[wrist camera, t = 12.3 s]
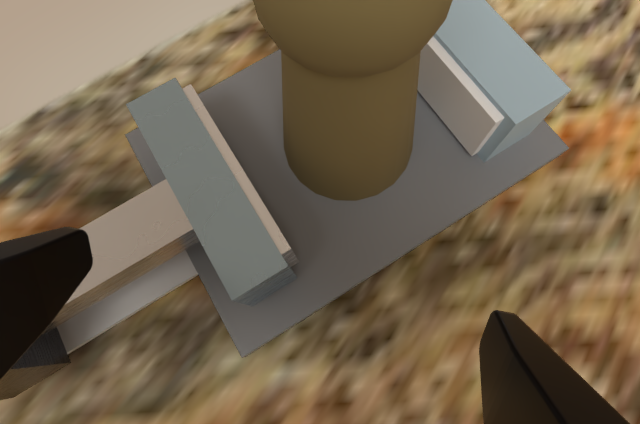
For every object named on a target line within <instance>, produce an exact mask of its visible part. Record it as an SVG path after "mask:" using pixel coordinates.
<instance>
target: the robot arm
mask: <svg viewBox="0 0 640 424" xmlns="http://www.w3.org/2000/svg"><path fill="white" fill-rule="evenodd" d="M92 265H93V257H92V252H91V247H90V242H89V237H88V234H87V233H86V231H84V230H82V229H77V228H72V227H63V228H59V229H55V230H51V231H47V232H42V233H38V234H34V235H30V236H26V237H22V238H18V239H13V240H9V241H5V242H1V243H0V380H1V379H2V378H3V377H4V375H5V374H6V373H7V372H8V371H9V370H10V369H11V368H12V366H13V365H14V364H15V363H16V362H17V361H18V360H19V359H20V358H21V356H22V355H23V354H24V353H25V352H26V351H27V350H28V349H29V347H30V346H31V345H32V344H33V343H34V342H35V341H36V340H37V339H38V337H39V336H40V335H41V334H42V333H43V332H44V331H45V329H46V328H47V327H48V326H49V325H50V324H51V322H52V321H53V320H54V318H55V317H56V316H57V315H58V313H59V312H60V311H61V309H62V308H63V307H64V305H65V304H66V302H67V301H68V300H69V298H70V297H71V296H72V294H73V293H74V292H75V290H76V289H77V288H78V286H79V285H80V284H81V282H82V281H83V280H84V278H85V277H86V276H87V274H88V273H89V271H90V270H91V268H92ZM479 355H480V372H481V390H482V407H483V421H484V424H630V423H629V422H628V421H627V420H626V419H625V418H624V417H623V416H621V415H620V414H619V413H618V412H617V411H616V410H615V409H614V408H613V407H612V406H611V405H610V404H609V403H608V402H607V401H606V400H605V399H604V398H603V397H602V396H601V395H600V394H599V393H597V392H596V391H595V390H594V389H593V388H592V387H591V386H590V385H589V384H588V383H587V382H586V381H585V380H584V379H583V378H582V377H581V376H580V375H579V374H578V373H577V372H576V371H574V370H573V369H572V368H571V367H570V366H569V365H568V364H567V363H566V362H565V361H564V360H563V359H562V358H561V357H560V356H559V355H558V354H557V353H556V352H555V351H554V350H553V349H551V348H550V347H549V346H548V345H547V344H546V343H545V342H544V341H543V340H542V339H541V338H540V337H539V336H538V335H537V334H536V333H535V332H534V331H533V330H532V329H531V328H530V327H528V326H527V325H526V324H525V323H524V322H523V321H522V320H521V319H520V318H519V317H518V316H517V315H516V314H513V313H509V312H503V311H498V310H495V311H493V312H492V313H491V314H490V317H489V319H488V322H487V325H486V327H485V330H484V333H483V335H482V338H481V341H480V348H479Z"/></svg>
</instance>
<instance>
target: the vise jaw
mask: <svg viewBox="0 0 640 424" xmlns="http://www.w3.org/2000/svg"><path fill="white" fill-rule="evenodd" d="M126 105H127V107H128V109H129V111H130V113H131V114H132V116H133V118H134V120H135V122H136V124H137V126H138V127H139V129H140V131H141V133H142V135H143V137H144V139H145V140H146V142H147V144H148V146H149V148H150V150H151V152H152V153H153V155H154V157H155V159H156V161H157V163H158V165H159V166H160V168H161V170H162V172H163V174H164V176H165V178H166V179H165V180H163V181H162V182H160V183H158V184H156V185H155V186H153V187H151V188H149V189H148V190H146V191H144V192H142V193H141V194H139V195H137V196H135V197H134V198H132V199H130V200H128V201H127V202H125V203H123V204H121V205H120V206H118V207H116V208H114V209H113V210H111V211H109V212H107V213H106V214H104V215H102V216H100V217H99V218H97V219H95V220H93V221H92V222H90V223H88V224H86V225H85V226H83V227H81V228H79V229H82V230H84V231H86V233H87V234H88V237H89V242H90V247H91V252H92V257H93V265H92V268H91V270H90V271H89V273H88V274H87V276H86V277H85V278H84V280H83V281H82V282H81V284H80V285H79V286H78V288H77V289H76V290H75V292H74V293H73V294H72V296H71V297H70V298H69V300H68V301H67V302H66V304H65V305H64V307H63V308H62V309H61V311H60V312H59V313H58V315H57V316H56V317H55V318H54V320H53V321H52V322H51V324H50V325H49V326H48V327H47V328H46V329H45V331H44V332H43V333H42V334H41V335H40V336H39V337H38V339H37V340H36V341H35V342H34V343H33V344H32V345H31V346H30V347H29V349H28V350H27V351H26V352H25V353H24V354H23V355H22V356H21V358H20V359H19V360H18V361H17V362H16V363H15V364H14V365H13V366H12V368H11V369H10V370H9V371H8V372H7V373H6V374H5V375H4V377H3V378H2V379H1V380H0V400H3V399H8V398H13V397H15V396H17V395H18V394H20V393H22V392H23V391H25V390H27V389H28V388H30V387H32V386H33V385H35V384H36V383H38V382H40V381H41V380H43V379H45V378H46V377H48V376H50V375H51V374H53V373H54V372H56V371H58V370H59V369H61V368H63V367H64V366H66V365H68V364H69V363H71V362H70V359H69V356H68V354H67V351H66V349H65V346H64V344H63V341H62V339H61V336H60V334H59V331H58V329H57V326H59V325H61V324H62V323H64V322H66V321H67V320H69V319H71V318H72V317H74V316H76V315H77V314H79V313H81V312H82V311H84V310H86V309H87V308H89V307H91V306H92V305H94V304H96V303H97V302H99V301H101V300H102V299H104V298H106V297H107V296H109V295H111V294H112V293H114V292H116V291H117V290H119V289H121V288H123V287H124V286H126V285H128V284H129V283H131V282H133V281H134V280H136V279H138V278H139V277H141V276H143V275H144V274H146V273H148V272H149V271H151V270H153V269H154V268H156V267H158V266H159V265H161V264H163V263H164V262H166V261H168V260H169V259H171V258H173V257H174V256H176V255H178V254H179V253H181V252H183V251H185V250H186V249H188V248H190V247H191V246H193V245H195V244H196V243H198V242H201V244H202V246H203V248H204V250H205V252H206V254H207V255H208V257H209V259H210V261H211V263H212V265H213V267H214V268H215V270H216V272H217V274H218V276H219V278H220V280H221V281H222V283H223V285H224V287H225V289H226V291H227V292H228V294H229V296H230V298H231V300H232V301H235V302H238V303H242V304H245V305H249V306H254V305H255V304H257V303H259V302H260V301H262V300H263V299H265V298H267V297H268V296H270V295H271V294H273V293H275V292H276V291H278V290H279V289H281V288H283V287H284V286H286V285H287V284H289V283H291V282H292V281H294V280H295V279H297V278H298V277H297V276H296V274H295V272H294V271H293V269H292V267H293V266H294V265H296V264H297V263H299V260H298V259H297V257H296V255H295V254H294V252H293V251H292V249H291V247H290V246H289V244H288V242H287V241H286V239H285V237H284V236H283V234H282V233H281V231H280V229H279V228H278V226H277V224H276V223H275V221H274V219H273V218H272V216H271V214H270V213H269V211H268V210H267V208H266V206H265V205H264V203H263V201H262V200H261V198H260V196H259V195H258V193H257V192H256V190H255V188H254V187H253V185H252V183H251V182H250V180H249V178H248V177H247V175H246V173H245V172H244V170H243V169H242V167H241V165H240V164H239V162H238V160H237V159H236V157H235V155H234V154H233V152H232V151H231V149H230V147H229V146H228V144H227V142H226V141H225V139H224V137H223V136H222V134H221V132H220V131H219V129H218V128H217V126H216V124H215V123H214V121H213V119H212V118H211V116H210V114H209V113H208V111H207V110H206V108H205V106H204V105H203V103H202V101H201V100H200V98H199V96H198V95H197V93H196V92H195V90H194V88H193V87H192V85H191V84H190V85H188V86H186V87H184V88H182V87H181V86H180V84H179V83H178V81H177V80H176V78H174V79H172V80H170V81H168V82H166V83H164V84H163V85H161V86H159V87H157V88H155V89H153V90H151V91H150V92H148V93H146V94H144V95H142V96H140V97H139V98H137V99H135V100H133V101H131V102H129V103H128V104H126Z"/></svg>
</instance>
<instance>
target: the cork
mask: <svg viewBox="0 0 640 424" xmlns="http://www.w3.org/2000/svg"><path fill="white" fill-rule="evenodd" d="M452 1H453V0H253V2H254V5H255V8H256V12H257V15H258V19H259V21H260V22H261V24H262V25H263V27H264V28H265V30H266V31H267V33H268V34H269V35H270V37H271V38H272V39H273V41H274V42H275V43H276V45H277V46H278V47H279V49H280V50H281V63H282V100H283V137H284V150H285V154H286V158H287V162H288V165H289V167H290V168H291V170H292V171H293V173H294V174H295V176H296V177H297V179H298V180H299V181H300V182H301V183H302V184H304V185H305V186H306V187H308V188H309V189H310V190H312V191H313V192H314V193H316V194H319V195H322V196H324V197H327V198H330V199H333V200H346V201H357V200H361V199H365V198H368V197H372V196H375V195H378V194H379V193H381V192H382V191H384V190H385V189H387V188H388V187H390V186H391V185H393V184H394V183H395V182H396V181H397V179H398V178H399V177H400V176H401V174H402V173H403V172H404V171H405V169H406V167H407V165H408V162H409V159H410V156H411V153H412V148H413V136H414V124H415V112H416V100H417V89H418V77H419V65H420V53H421V50H422V49H423V48H424V46H425V45H426V44H427V43H428V42H429V40H430V39H431V38H432V37H433V36H434V35H435V33H436V32H437V31H438V29H439V28H440V26H441V25H442V24H443V22H444V21H445V20H446V18H447V15H448V12H449V9H450V6H451V3H452Z"/></svg>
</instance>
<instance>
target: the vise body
mask: <svg viewBox="0 0 640 424" xmlns="http://www.w3.org/2000/svg"><path fill="white" fill-rule="evenodd" d="M570 91H571V89H570V88H569V87H568V86H567V85H566V84H565V83H564V82H563V81H562V80H561V79H560V78H559V77H558V76H557V75H556V74H555V73H554V72H553V71H552V70H551V69H550V68H549V67H548V65H547V64H546V63H545V62H544V61H543V60H542V59H541V58H540V57H539V56H538V55H537V54H536V53H535V52H534V51H533V50H532V49H531V48H530V47H529V46H528V45H527V44H526V43H525V41H524V40H523V39H522V38H521V37H520V36H519V35H518V34H517V33H516V32H515V31H514V30H513V29H512V28H511V27H510V26H509V25H508V24H507V23H506V22H505V21H504V20H503V19H502V17H501V16H500V15H499V14H498V13H497V12H496V11H495V10H494V9H493V8H492V7H491V6H490V5H489V4H488V3H487V2H486V1H485V0H453V1H452V3H451V6H450V9H449V12H448V15H447V18H446V20H445V21H444V22H443V24H442V25H441V26H440V28H439V29H438V31H437V32H436V33H435V35H434V36H433V37H432V38H431V39H430V40H429V42H428V43H427V44H426V45H425V46H424V48H423V49H422V50H421V53H420V65H419V77H418V89H417V100H416V112H415V124H414V136H413V148H412V153H411V156H410V159H409V162H408V165H407V167H406V169H405V171H404V172H403V173H402V174H401V176H400V177H399V178H398V179H397V181H396V182H395V183H394V184H393V185H391V186H390V187H388V188H387V189H385V190H384V191H382V192H381V193H379V194H378V195H375V196H372V197H368V198H365V199H361V200H357V201H346V200H333V199H330V198H327V197H324V196H322V195H319V194H316V193H314V192H313V191H312V190H310V189H309V188H308V187H306V186H305V185H304V184H302V183H301V182H300V181H299V180H298V179H297V177H296V176H295V174H294V173H293V171H292V170H291V168H290V167H289V165H288V162H287V158H286V154H285V150H284V137H283V100H282V63H281V50H280V49H279V50H278V51H276V52H274V53H272V54H270V55H269V56H267V57H265V58H263V59H261V60H260V61H258V62H256V63H254V64H252V65H250V66H249V67H247V68H245V69H243V70H241V71H240V72H238V73H236V74H234V75H232V76H231V77H229V78H227V79H225V80H223V81H221V82H220V83H218V84H216V85H214V86H212V87H211V88H209V89H207V90H205V91H203V92H202V93H200V94H198V96H199V98H200V100H201V101H202V103H203V105H204V106H205V108H206V110H207V111H208V113H209V114H210V116H211V118H212V119H213V121H214V123H215V124H216V126H217V128H218V129H219V131H220V132H221V134H222V136H223V137H224V139H225V141H226V142H227V144H228V146H229V147H230V149H231V151H232V152H233V154H234V155H235V157H236V159H237V160H238V162H239V164H240V165H241V167H242V169H243V170H244V172H245V173H246V175H247V177H248V178H249V180H250V182H251V183H252V185H253V187H254V188H255V190H256V192H257V193H258V195H259V196H260V198H261V200H262V201H263V203H264V205H265V206H266V208H267V210H268V211H269V213H270V214H271V216H272V218H273V219H274V221H275V223H276V224H277V226H278V228H279V229H280V231H281V233H282V234H283V236H284V237H285V239H286V241H287V242H288V244H289V246H290V247H291V249H292V251H293V252H294V254H295V255H296V257H297V259H298V260H299V263H297V264H296V265H294V266H293V267H292V269H293V271H294V272H295V274H296V276H297V277H298V278H297V279H295V280H294V281H292V282H291V283H289V284H287V285H286V286H284V287H283V288H281V289H279V290H278V291H276V292H275V293H273V294H271V295H270V296H268V297H267V298H265V299H263V300H262V301H260V302H259V303H257V304H255V305H254V306H249V305H245V304H242V303H238V302H235V301H232V300H231V298H230V296H229V294H228V292H227V291H226V289H225V287H224V285H223V283H222V281H221V280H220V278H219V276H218V274H217V272H216V270H215V268H214V267H213V265H212V263H211V261H210V259H209V257H208V255H207V254H206V252H205V250H204V248H203V246H202V244H201V242H198V243H196V244H195V245H193V246H191V247H190V248H188V249H186V250H185V251H183V252H181V253H179V254H178V255H176V256H174V257H173V258H171V259H169V260H168V261H166V262H164V263H163V264H161V265H159V266H158V267H156V268H154V269H153V270H151V271H149V272H148V273H146V274H144V275H143V276H141V277H139V278H138V279H136V280H134V281H133V282H131V283H129V284H128V285H126V286H124V287H123V288H121V289H119V290H117V291H116V292H114V293H112V294H111V295H109V296H107V297H106V298H104V299H102V300H101V301H99V302H97V303H96V304H94V305H92V306H91V307H89V308H87V309H86V310H84V311H82V312H81V313H79V314H77V315H76V316H74V317H72V318H71V319H69V320H67V321H66V322H64V323H62V324H61V325H59V326H57V329H58V331H59V334H60V336H61V339H62V341H63V344H64V346H65V349H66V351H67V354H69V353H71V352H73V351H74V350H76V349H77V348H79V347H81V346H82V345H84V344H86V343H87V342H89V341H91V340H92V339H94V338H96V337H97V336H99V335H101V334H102V333H104V332H105V331H107V330H109V329H110V328H112V327H114V326H115V325H117V324H119V323H120V322H122V321H124V320H125V319H127V318H129V317H130V316H132V315H133V314H135V313H137V312H138V311H140V310H142V309H143V308H145V307H147V306H148V305H150V304H152V303H153V302H155V301H157V300H158V299H160V298H162V297H163V296H165V295H166V294H168V293H170V292H171V291H173V290H175V289H176V288H178V287H180V286H181V285H183V284H185V283H186V282H188V281H190V280H191V279H193V278H194V277H196V276H198V275H199V277H200V279H201V281H202V283H203V285H204V286H205V288H206V290H207V292H208V294H209V296H210V298H211V300H212V302H213V304H214V306H215V307H216V309H217V311H218V313H219V315H220V317H221V319H222V321H223V323H224V325H225V327H226V328H227V330H228V332H229V334H230V336H231V338H232V340H233V342H234V344H235V346H236V348H237V349H238V351H239V353H240V355H241V357H242V358H243V357H246V356H248V355H249V354H251V353H253V352H254V351H256V350H257V349H259V348H260V347H262V346H264V345H265V344H267V343H268V342H270V341H271V340H273V339H274V338H276V337H278V336H279V335H281V334H282V333H284V332H285V331H287V330H289V329H290V328H292V327H293V326H295V325H296V324H298V323H299V322H301V321H303V320H304V319H306V318H307V317H309V316H310V315H312V314H313V313H315V312H317V311H318V310H320V309H321V308H323V307H324V306H326V305H328V304H329V303H331V302H332V301H334V300H335V299H337V298H338V297H340V296H342V295H343V294H345V293H346V292H348V291H349V290H351V289H352V288H354V287H356V286H357V285H359V284H360V283H362V282H363V281H365V280H367V279H368V278H370V277H371V276H373V275H374V274H376V273H377V272H379V271H381V270H382V269H384V268H385V267H387V266H388V265H390V264H392V263H393V262H395V261H396V260H398V259H399V258H401V257H402V256H404V255H406V254H407V253H409V252H410V251H412V250H413V249H415V248H416V247H418V246H420V245H421V244H423V243H424V242H426V241H427V240H429V239H431V238H432V237H434V236H435V235H437V234H438V233H440V232H441V231H443V230H445V229H446V228H448V227H449V226H451V225H452V224H454V223H456V222H457V221H459V220H460V219H462V218H463V217H465V216H466V215H468V214H470V213H471V212H473V211H474V210H476V209H477V208H479V207H480V206H482V205H484V204H485V203H487V202H488V201H490V200H491V199H493V198H495V197H496V196H498V195H499V194H501V193H502V192H504V191H505V190H507V189H509V188H510V187H512V186H513V185H515V184H516V183H518V182H519V181H521V180H523V179H524V178H526V177H527V176H529V175H530V174H532V173H534V172H535V171H537V170H538V169H540V168H541V167H543V166H544V165H546V164H548V163H549V162H551V161H552V160H554V159H555V158H557V157H559V156H560V155H561V154H563V153H564V152H565V151H566V150H567V149H569V147H568V146H567V145H566V144H565V143H564V142H563V141H562V140H561V139H560V137H559V136H558V135H557V134H556V133H555V132H554V131H553V130H552V129H551V128H550V126H549V125H548V124H547V123H546V122H545V121H544V120H543V119H544V118H545V117H546V116H547V115H548V114H549V113H550V112H551V111H552V110H553V109H554V108H555V107H556V106H557V105H558V104H559V102H560V101H561V100H562V99H563V98H564V97H565V96H566V95H567V94H568V93H569V92H570ZM125 136H126V138H127V139H128V141H129V143H130V145H131V147H132V149H133V151H134V153H135V155H136V157H137V159H138V160H139V162H140V164H141V166H142V168H143V170H144V172H145V174H146V176H147V178H148V180H149V181H150V183H151V185H152V187H153V186H155V185H156V184H158V183H160V182H162V181H163V180H165V179H166V178H165V176H164V174H163V172H162V170H161V168H160V166H159V165H158V163H157V161H156V159H155V157H154V155H153V153H152V152H151V150H150V148H149V146H148V144H147V142H146V140H145V139H144V137H143V135H142V133H141V131H140V129H139V127H138V128H136V129H134V130H133V131H131V132H129V133H127V134H125Z"/></svg>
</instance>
